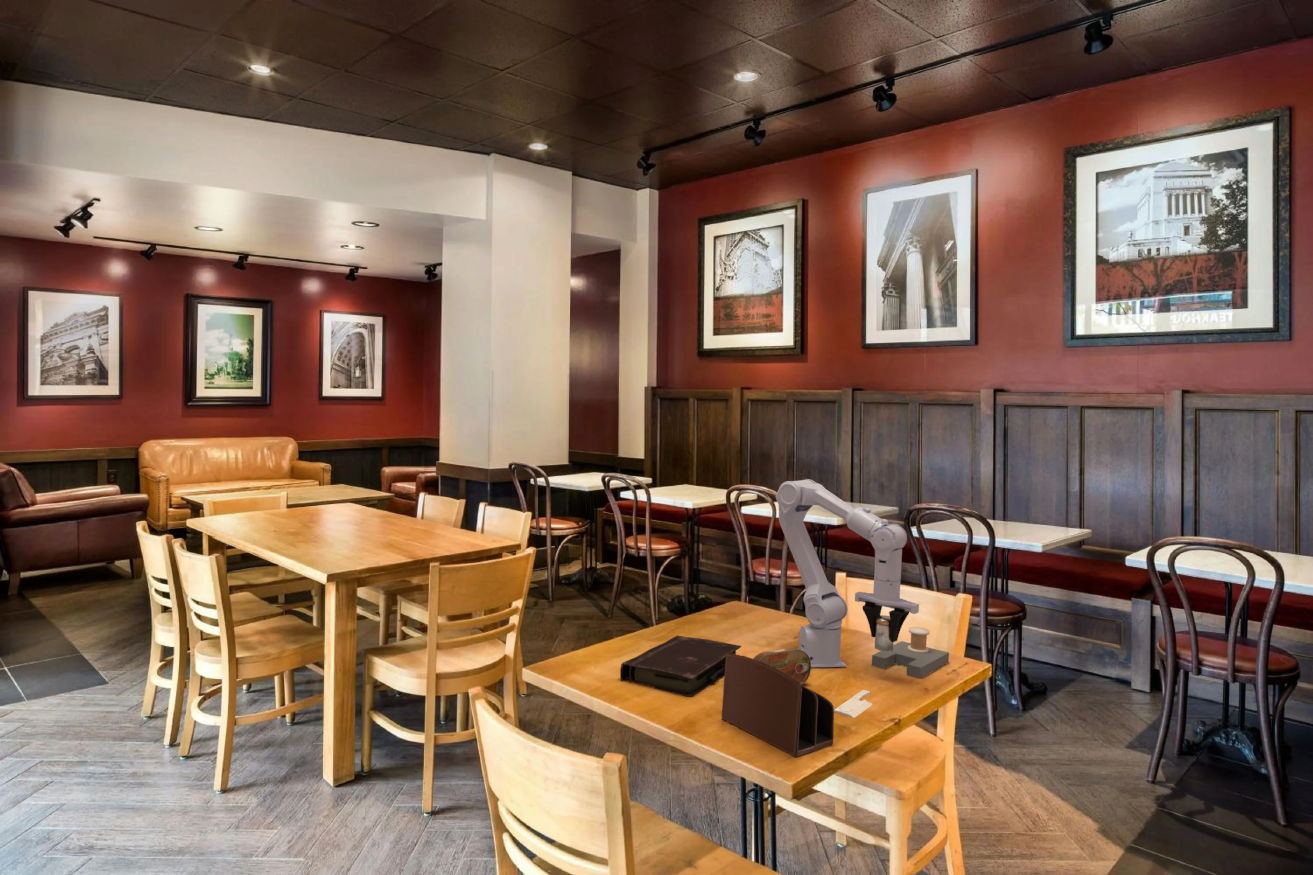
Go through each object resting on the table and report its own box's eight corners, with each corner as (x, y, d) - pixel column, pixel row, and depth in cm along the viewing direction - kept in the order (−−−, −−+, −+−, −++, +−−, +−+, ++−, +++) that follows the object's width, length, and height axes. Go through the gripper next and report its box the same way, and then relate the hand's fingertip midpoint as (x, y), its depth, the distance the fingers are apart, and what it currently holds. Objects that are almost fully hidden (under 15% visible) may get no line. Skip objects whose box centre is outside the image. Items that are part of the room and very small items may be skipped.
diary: (618, 683, 177) (619, 660, 176) (674, 653, 198) (674, 633, 198) (694, 700, 167) (695, 676, 167) (744, 667, 189) (744, 645, 189)
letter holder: (795, 758, 141) (799, 679, 140) (720, 720, 157) (723, 648, 156) (834, 745, 147) (837, 669, 146) (757, 709, 163) (760, 640, 162)
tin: (753, 696, 170) (755, 656, 169) (745, 690, 173) (747, 651, 172) (811, 686, 177) (812, 648, 176) (802, 681, 180) (803, 644, 179)
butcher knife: (885, 699, 171) (885, 694, 171) (856, 721, 159) (856, 715, 159) (862, 693, 174) (863, 688, 174) (832, 714, 162) (832, 708, 162)
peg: (878, 651, 180) (880, 620, 180) (871, 645, 184) (872, 615, 184) (896, 651, 181) (898, 620, 180) (888, 645, 185) (890, 615, 184)
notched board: (920, 678, 184) (922, 645, 183) (871, 665, 192) (873, 634, 191) (948, 662, 196) (950, 631, 195) (901, 650, 204) (902, 621, 203)
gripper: (926, 581, 180) (922, 642, 180) (866, 570, 189) (863, 627, 190) (912, 586, 174) (908, 648, 175) (851, 575, 184) (848, 633, 185)
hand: (884, 638), depth 182 cm, fingers closed on peg, 4 cm apart
